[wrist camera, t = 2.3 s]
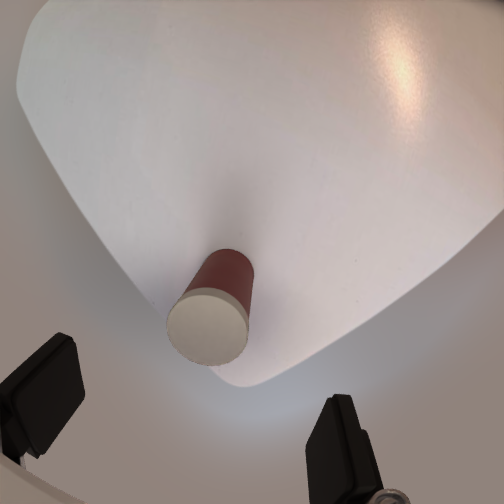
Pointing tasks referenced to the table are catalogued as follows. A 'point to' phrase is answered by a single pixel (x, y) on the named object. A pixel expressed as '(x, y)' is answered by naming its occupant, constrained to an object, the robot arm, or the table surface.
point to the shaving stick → (214, 310)
